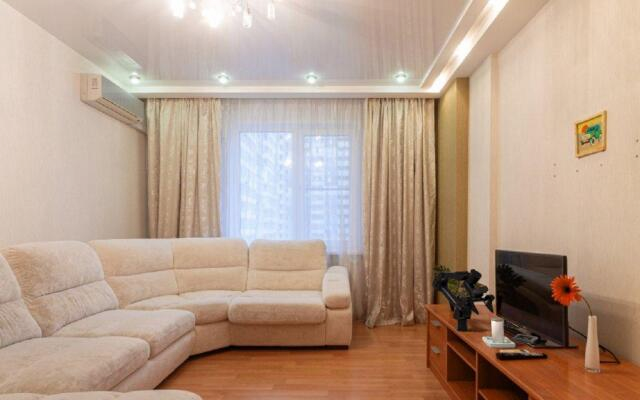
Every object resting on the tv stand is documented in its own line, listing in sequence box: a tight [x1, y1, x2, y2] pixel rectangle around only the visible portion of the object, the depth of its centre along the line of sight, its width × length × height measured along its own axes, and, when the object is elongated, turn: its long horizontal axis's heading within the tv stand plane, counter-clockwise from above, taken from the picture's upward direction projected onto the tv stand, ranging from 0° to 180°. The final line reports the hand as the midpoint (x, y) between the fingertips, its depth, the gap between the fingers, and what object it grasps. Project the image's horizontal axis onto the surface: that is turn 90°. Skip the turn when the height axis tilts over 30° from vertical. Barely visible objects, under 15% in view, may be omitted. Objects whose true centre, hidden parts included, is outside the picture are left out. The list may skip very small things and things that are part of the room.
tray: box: [482, 336, 516, 349], centre depth 197 cm, size 12×12×2 cm
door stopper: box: [503, 319, 520, 329], centre depth 230 cm, size 9×6×12 cm, turn 169°
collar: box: [511, 333, 539, 345], centre depth 200 cm, size 9×9×2 cm
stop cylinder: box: [490, 316, 505, 343], centre depth 197 cm, size 6×6×12 cm
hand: (485, 313), depth 205 cm, fingers open, 9 cm apart
